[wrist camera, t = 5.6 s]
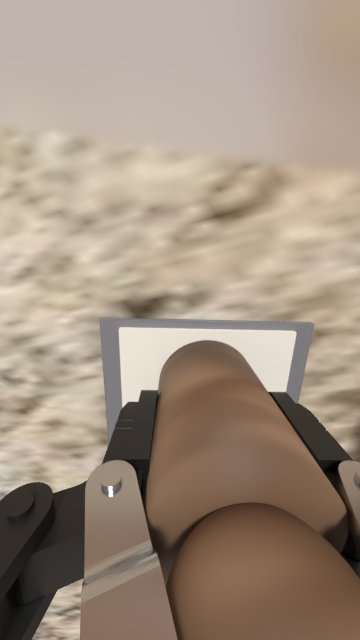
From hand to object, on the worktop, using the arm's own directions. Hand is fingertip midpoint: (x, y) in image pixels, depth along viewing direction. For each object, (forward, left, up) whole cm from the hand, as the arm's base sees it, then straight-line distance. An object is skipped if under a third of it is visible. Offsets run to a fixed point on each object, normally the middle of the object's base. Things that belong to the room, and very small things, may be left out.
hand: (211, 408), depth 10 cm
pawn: (0, 0, -2) cm, 2 cm away
